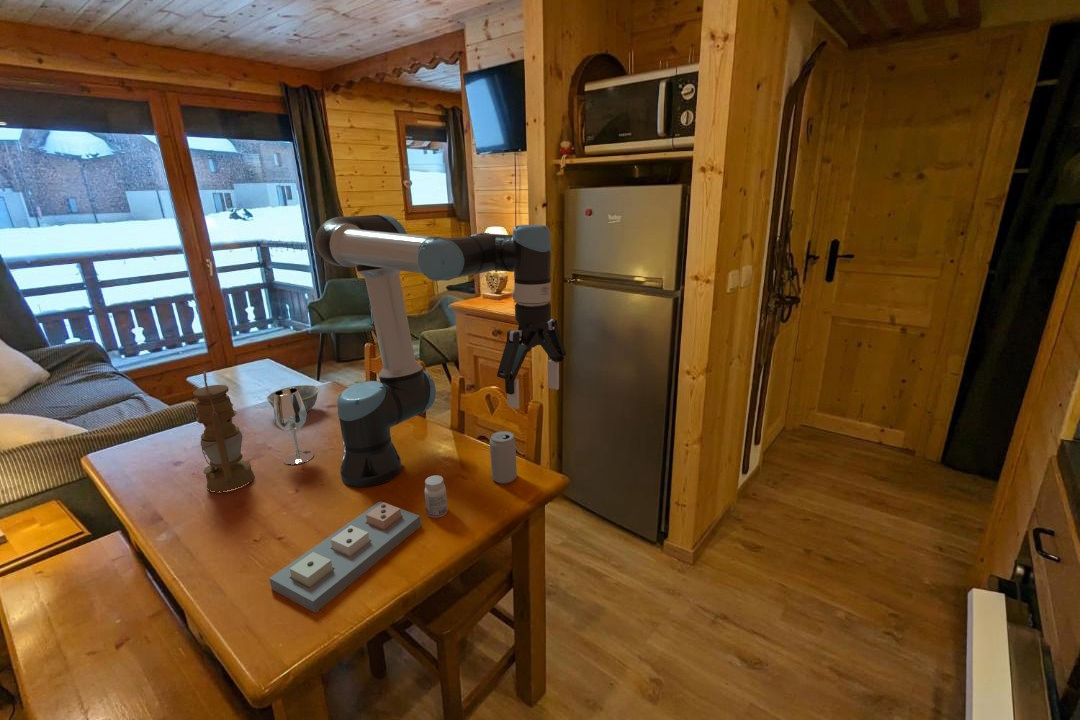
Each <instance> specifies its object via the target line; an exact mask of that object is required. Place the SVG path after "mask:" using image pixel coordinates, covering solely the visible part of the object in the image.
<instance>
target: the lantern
mask: <svg viewBox="0 0 1080 720" xmlns="http://www.w3.org/2000/svg"><path fill="white" fill-rule="evenodd" d="M202 373H203V374H202V375H203V379H204V386H203V387H200V388H197V389H195V390H194V391H193V392H192V393H193V397H194V398H196V399H197V401H196V409H197V410H196V411H195V413H196V414H197V415H198V417H197V418H196V422H197V423H198V424H201V425H203V426H204V430H203V433H202V434H200V447H201V452H202V454H203V456H204V459H205V460H206V463H207V464H208V465H207V466H206V467H205V468H204V469H203V474H205V478H206V489H207V488H208V489H209V490H211V491H215V492H219V491H220V492H223V491H227V490H231V489H235V488H238V487H241V486H243V485H245V484H247V483H248V482H250V481H251V480H252V479H253V480H254V478H255V473H254V471H253V470H252V466H251V462H249V461H247V460H243V457H244V456H243V453H241V452H242V445H243V434H242V433H243V432H241V430H240V427H239V426H237V425H236V424H234V423H233V418H234V417H235V416H236V415H237V414H238V413H237V410H234V404H233V403H232V402H231V398H230V396H229V395H228V394H227V393H228V392H229V390H230V389H229V386H228V385H227V384H212V385H208V383H207V371H205V370H203V372H202ZM207 458H208V459H209V461H208V460H207ZM253 477H254V478H253ZM208 489H207V490H208Z"/></svg>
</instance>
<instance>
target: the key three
mask: <svg viewBox="0 0 1080 720" xmlns="http://www.w3.org/2000/svg"><path fill="white" fill-rule="evenodd" d="M382 502H383V501H382ZM401 509H402V508H400V507H397V506H396V505H395V506H394V505H392V504H390V503H387V502H383V503H382V504H380V505H379V506H378V507H376V508H375V509H373V510H372V511H370V512H369V513H368V514H366V518H367V524H369V525H371V526H374V527H376V528H379V529H381V530H384V531H385V530H386V529H387V528H388V527H390V526H391V525H392V524H394V523H395V522H396V521H398V520H399V519H400V518H401Z"/></svg>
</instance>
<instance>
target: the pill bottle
mask: <svg viewBox="0 0 1080 720" xmlns="http://www.w3.org/2000/svg"><path fill="white" fill-rule="evenodd" d="M424 483H425V484H424V485H425V487H424V499H425V501H424V502H425V509H426V514H427V516H428V517H430V518H435V519H437V518H441V517H444V516H445V515H446V514H448V511H449V507H448V498H447V487H446V485H445V483H444V478H443V477H442V476H441V475H438V474H437V475H436V474H435V475H431V476H428V477H427V478H426V479H425V480H424Z"/></svg>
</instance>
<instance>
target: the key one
mask: <svg viewBox="0 0 1080 720" xmlns="http://www.w3.org/2000/svg"><path fill="white" fill-rule="evenodd" d="M289 569H290V573H291V578H292V580H294V581H296V582H298V583H300V584H302V585H303V586H305V587H307V588H310V587H312V586H313V585H314V584H316V583H317V582H318V581H320V580H321V579H322V578H323V577H325V576H326V575H327V574H329V573H330V572H331V571H333V568H332V562H331V560H330V559H328V558H325V557H323V556H321V555H319V554H317V553H315V552H312V553H311V554H309V555H308V556H306V557H305V558H304V559H302V560H301V561H299V562H298V563H297V564H295V565H294V566H292V567H291V568H289Z"/></svg>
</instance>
